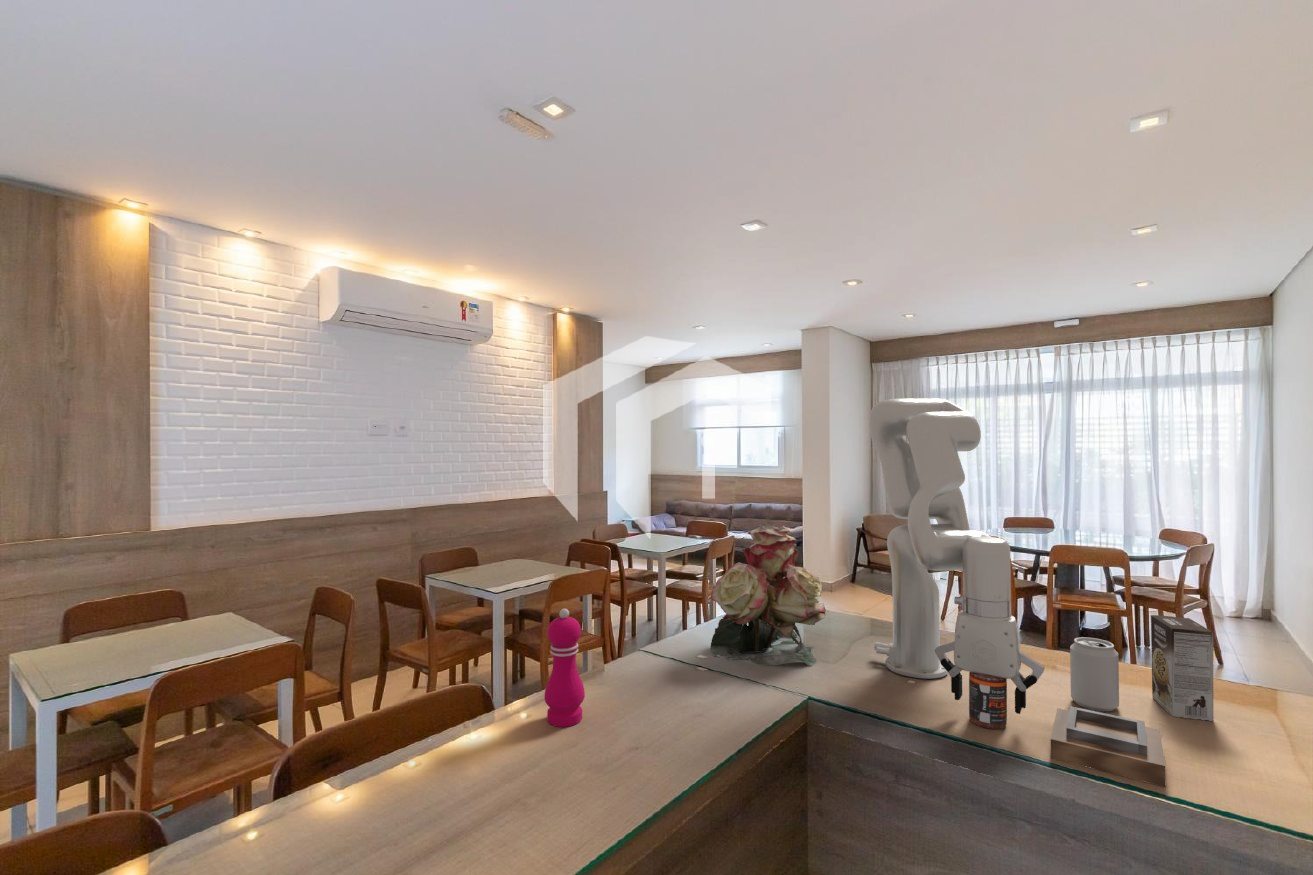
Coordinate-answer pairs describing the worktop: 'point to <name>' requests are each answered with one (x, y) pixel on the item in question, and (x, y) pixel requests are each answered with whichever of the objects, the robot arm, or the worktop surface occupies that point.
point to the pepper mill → (564, 673)
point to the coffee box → (1182, 667)
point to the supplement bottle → (987, 700)
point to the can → (1094, 674)
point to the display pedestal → (1108, 744)
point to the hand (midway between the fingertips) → (987, 704)
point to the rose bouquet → (767, 602)
